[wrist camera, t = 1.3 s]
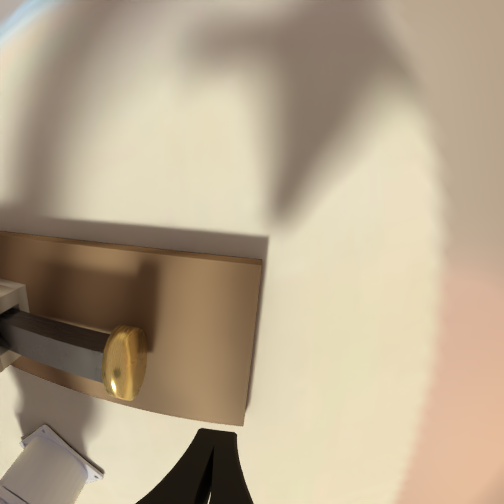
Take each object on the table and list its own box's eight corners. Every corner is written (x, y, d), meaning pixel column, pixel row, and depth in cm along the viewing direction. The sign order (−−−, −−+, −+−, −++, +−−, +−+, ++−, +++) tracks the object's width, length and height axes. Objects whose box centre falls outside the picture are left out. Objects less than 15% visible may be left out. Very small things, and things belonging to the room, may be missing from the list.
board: (262, 259, 17) (260, 297, 11) (244, 415, 19) (238, 478, 13) (-35, 226, 17) (-83, 239, 11) (-16, 342, 19) (-54, 368, 14)
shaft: (145, 316, 16) (115, 351, 12) (149, 374, 17) (125, 415, 13) (2, 284, 16) (-36, 302, 12) (11, 334, 17) (-22, 356, 13)
